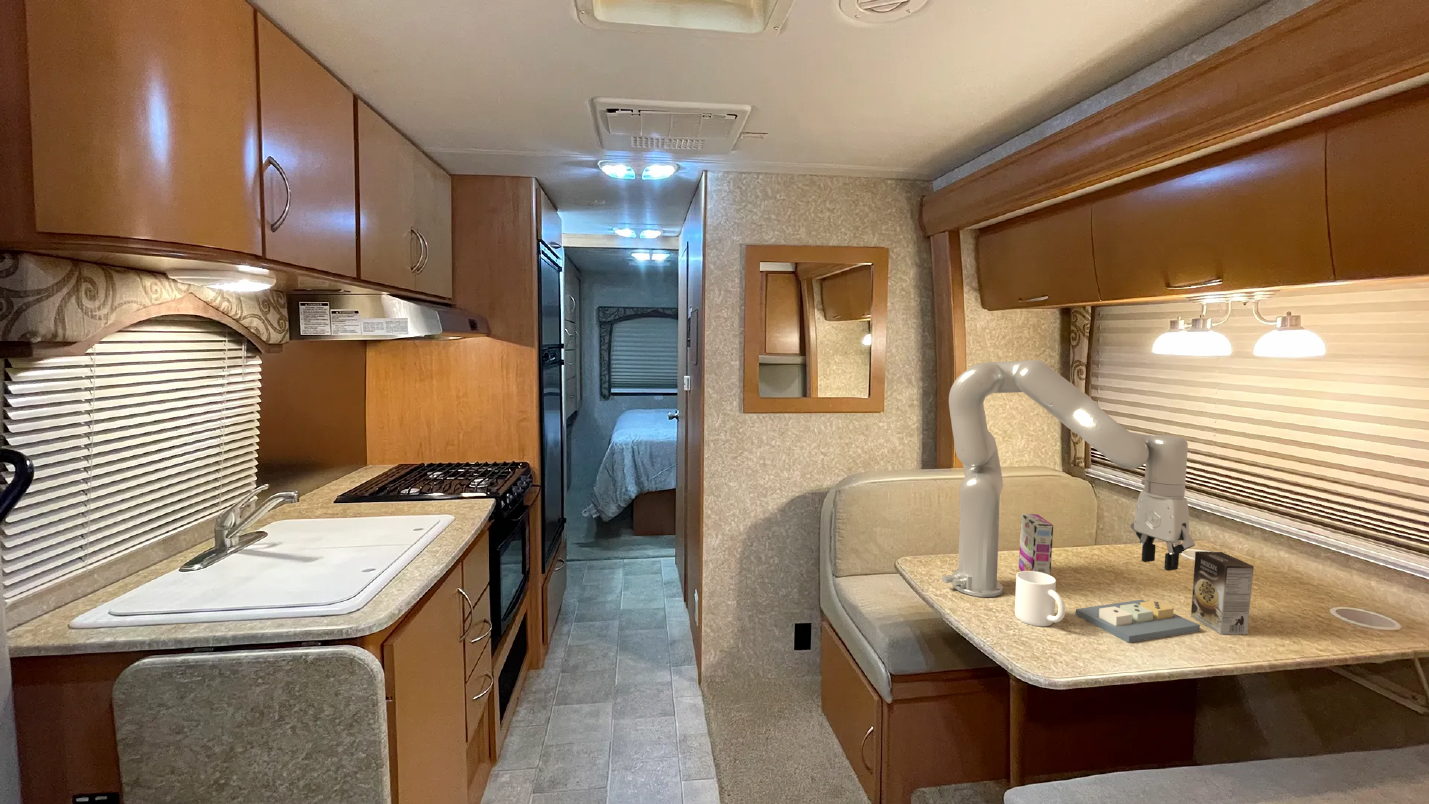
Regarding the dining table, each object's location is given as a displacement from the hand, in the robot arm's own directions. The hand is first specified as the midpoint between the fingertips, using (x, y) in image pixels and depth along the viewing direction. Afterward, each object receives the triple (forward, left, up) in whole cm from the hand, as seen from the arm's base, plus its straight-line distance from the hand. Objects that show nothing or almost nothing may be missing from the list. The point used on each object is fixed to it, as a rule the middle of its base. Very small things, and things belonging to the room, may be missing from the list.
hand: (1159, 564), depth 141 cm
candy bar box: (-7, +30, -14) cm, 34 cm away
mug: (-27, +6, -14) cm, 31 cm away
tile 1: (-12, 0, -12) cm, 17 cm away
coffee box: (+11, -6, -14) cm, 18 cm away
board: (-6, 0, -13) cm, 15 cm away
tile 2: (-6, 0, -12) cm, 14 cm away
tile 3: (0, 0, -12) cm, 12 cm away
